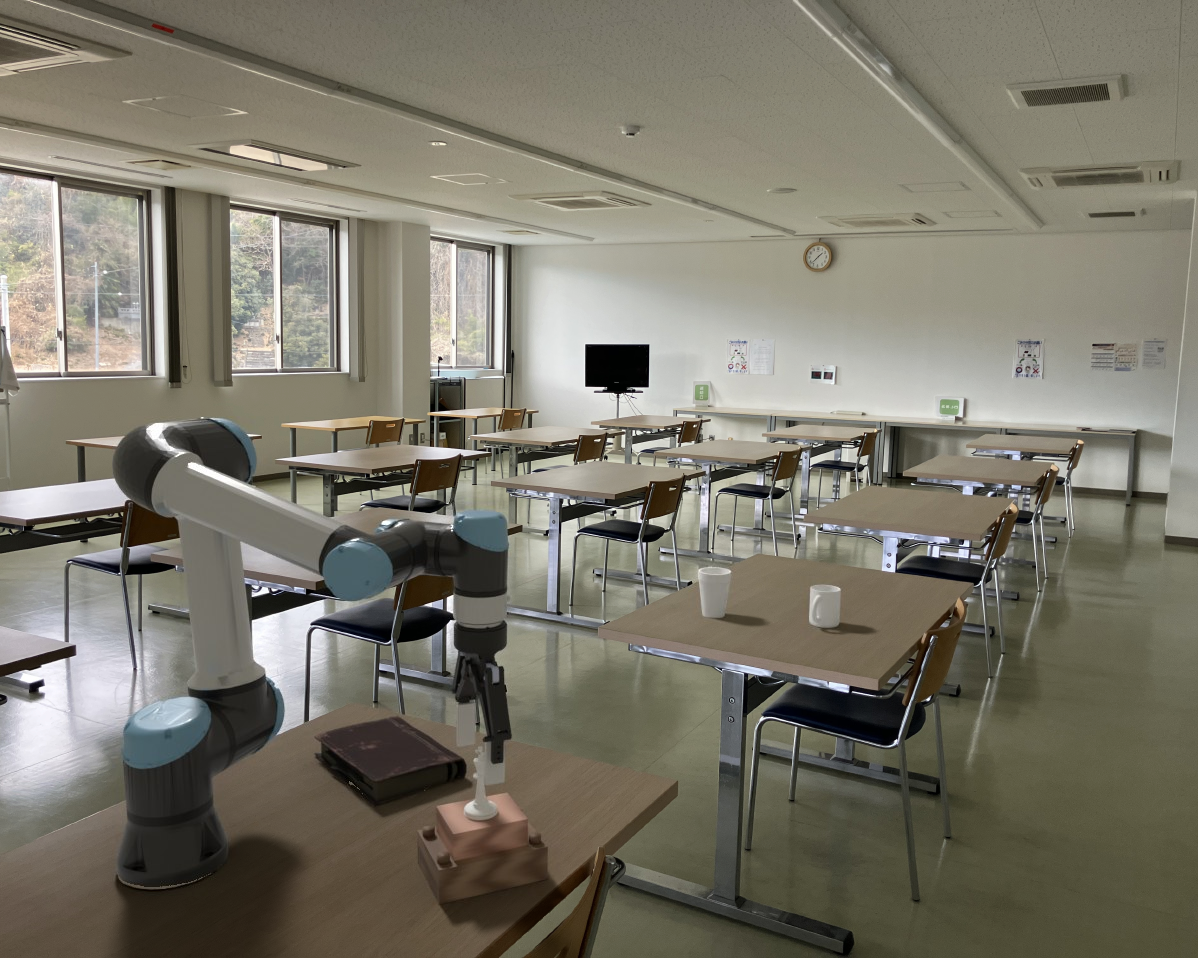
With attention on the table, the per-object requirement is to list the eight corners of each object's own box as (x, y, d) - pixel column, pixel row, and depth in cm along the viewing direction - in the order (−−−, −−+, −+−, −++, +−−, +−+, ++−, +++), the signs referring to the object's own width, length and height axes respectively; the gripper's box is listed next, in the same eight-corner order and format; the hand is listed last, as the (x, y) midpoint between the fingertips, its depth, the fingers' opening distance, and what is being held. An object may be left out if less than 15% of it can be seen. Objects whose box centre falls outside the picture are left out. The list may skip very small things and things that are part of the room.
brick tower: (439, 904, 132) (438, 842, 131) (417, 861, 143) (416, 804, 142) (547, 878, 139) (547, 820, 138) (519, 839, 150) (519, 785, 149)
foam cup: (695, 618, 274) (697, 573, 272) (698, 609, 283) (699, 566, 281) (729, 620, 272) (731, 575, 270) (730, 611, 281) (731, 568, 279)
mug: (825, 633, 261) (827, 596, 260) (797, 627, 266) (799, 591, 265) (844, 623, 270) (845, 587, 269) (816, 618, 275) (818, 583, 274)
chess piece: (481, 800, 143) (480, 736, 142) (504, 811, 140) (504, 745, 139) (456, 813, 140) (455, 747, 138) (480, 823, 137) (479, 757, 135)
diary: (401, 737, 191) (401, 712, 190) (467, 781, 171) (467, 754, 171) (310, 759, 179) (309, 734, 178) (370, 810, 160) (369, 782, 159)
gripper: (537, 643, 126) (534, 795, 129) (479, 596, 149) (478, 727, 152) (482, 649, 123) (481, 805, 126) (431, 600, 146) (431, 734, 149)
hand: (479, 763), depth 139 cm, fingers open, 13 cm apart
